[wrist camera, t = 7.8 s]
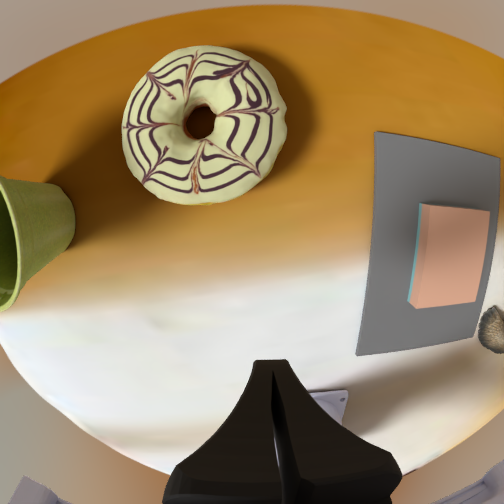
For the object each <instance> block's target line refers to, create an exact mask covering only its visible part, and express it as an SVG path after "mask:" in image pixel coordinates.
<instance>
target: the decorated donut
mask: <svg viewBox="0 0 504 504" xmlns="http://www.w3.org/2000/svg"><path fill="white" fill-rule="evenodd" d="M202 106H209V107H210V108H211V110H212V112H213V113H215V114H217V116H216V119H215V123H214V131H213V132H212V133H211V134H210V135H209V136H207V137H206V138H203V139H196V138H193V137H192V135H190V134H189V132H188V130H187V127H186V121H187V120H188V118H189V116H190V114H191V113H192V112H193V111H194V110H195V109H198V108H200V107H202ZM286 110H287V107H286V105H285V102H284V101H283V99H282V97H281V96H280V94H279V91H278V87H277V85H276V82H275V79H274V78H273V77H272V75H271V74H270V72H269V71H268V70H267V69H266V68H265V67H264V66H263V65H262V64H260V63H258V62H257V61H255V60H254V59H252V58H251V57H249V56H246V55H245V54H243V53H241V52H239V51H236V50H232V49H228V48H224V47H217V46H210V45H208V46H193V47H188V48H183V49H178V50H176V51H174V52H172V53H170V54H168V55H167V56H165V57H164V58H162V59H161V60H160V61H159V62H158V63H156V64H155V65H154V66H153V67H152V68H151V69H150V70H149V71H148V72H147V73H146V74H145V76H143V77H142V79H141V80H140V81H139V82H138V83H137V85H136V86H135V88H134V90H133V91H132V93H131V96H130V98H129V100H128V102H127V105H126V108H125V111H124V115H123V121H122V146H123V152H124V155H125V157H126V162H127V165H128V167H129V169H130V170H131V172H132V174H133V175H134V176H135V177H136V178H137V179H138V180H139V181H140V182H141V183H142V184H143V186H144V187H145V188H146V189H147V190H149V191H150V192H151V193H153V194H155V195H156V196H157V197H158V198H160V199H163V200H165V201H169V202H173V203H176V204H182V205H211V204H214V203H219V202H225V201H229V200H233V199H235V198H238V197H240V196H242V195H243V194H245V193H246V192H247V191H248V190H250V189H251V188H253V187H254V186H255V185H256V184H257V183H259V182H261V181H262V180H263V179H264V178H265V177H266V176H267V175H268V174H269V173H270V171H271V169H272V168H273V165H274V162H275V160H276V158H277V155H278V153H279V152H280V150H281V149H282V147H283V143H284V142H285V140H286V135H287V127H286V124H285V112H286Z"/></svg>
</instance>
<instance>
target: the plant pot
mask: <svg viewBox="0 0 504 504" xmlns="http://www.w3.org/2000/svg"><path fill="white" fill-rule="evenodd" d="M74 232H75V213H74V209H73V205H72V203H71V200H70V199H69V198H68V197H67V196H66V194H65V193H64V192H63V191H62V189H61V188H60V187H59V186H57V185H54V184H48V183H38V182H30V181H22V180H13V179H6V178H5V177H2V176H0V312H3V311H5V310H7V309H8V308H10V307H11V306H12V305H13V304H14V302H15V301H16V299H17V297H18V295H19V293H20V290H21V289H22V288H23V287H24V285H25V283H26V281H28V280H29V279H30V278H31V277H32V276H33V275H35V274H36V273H37V272H38V271H39V270H41V269H42V268H43V267H44V266H46V265H47V264H48V263H49V262H51V261H52V260H53V259H54V258H56V257H57V256H58V255H60V254H61V253H62V252H64V251H65V250H66V248H67V247H68V245H69V244H70V242H71V240H72V239H73V236H74Z"/></svg>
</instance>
